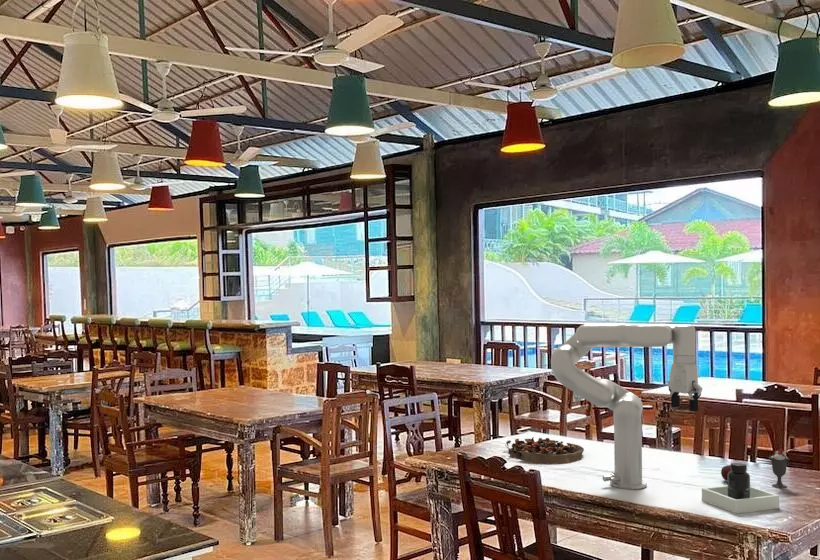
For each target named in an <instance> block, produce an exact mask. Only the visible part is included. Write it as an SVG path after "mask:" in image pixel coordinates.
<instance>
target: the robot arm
mask: <svg viewBox="0 0 820 560" xmlns="http://www.w3.org/2000/svg"><path fill="white" fill-rule="evenodd" d="M670 344H671V345H672V363H671V366H670V372H669V381H667V386H668V391H669V395H670V397H671V401H670V403H671V405H670V406H671V408H679V407H680V406H681V403H680V402H681V401H680V400H681V399H680V397H681V395H680V394H686V395H687V394H688V396H689V400H688V401H689V402H688V403H689V407H688V409H689V410H688V411H689V412H698V411H699V400H700V397H701V396H702V392H703V387H702V386H701V385H700V384H699V379H698V370H697V368H698V367H697V364H696V360H697V359H696V358H697V357H696V355H697V354H696V327H695V326H694V325H692V324H668V323H667V324H666V323H657V324H653V325H651V324H650V325H649V324H648V325H633V324H632V325H631V324H626V323H621V322H620V323H619V322H617V323H593V322H592V323H590V322H587V323H583V324H581V325H579V327H577V329H576V331H575V333H573V334H572V335H571V336H570V337H569V338H568V339H567V340H566V341H565V342H564V343H563V344H561V345H560V346H558V347H557V348H556V349H554V350H553V352H552V355H551V357H550V367H551V371H552V374H553V376H554V378H555V379H556V380H557V382H558V383H560V384H561V385H562V386H563V387H565V388H567V389H568V390H569V391H572V392H573V393H574V394H577V396H579V397H581V398H582V399H584V400H586V401H587V402H589V403H590V404H592V405H594V406H596V407H598V408H607V409H609V410H611V411H613V413H612V414H613V417H612V418H613V438H614V439H613V440H614V443H613V444H614V446H613V447H614V449H613V450H614V452H613V453H614V471H611V473H610V474H609V475H602V481H603V482H609V483H610V485H611V486H613V487H615V488H618V489H625V490H640V489H641V490H642V489H644V488H647V486H648V485H647V481H645V480H643V449H642V448H643V442H642V441H643V439H642V438H643V437H642V436H643V434H642V433H643V432H642V431H643V429H642V428H643V427H642V413H643V410H644V405H643V401H642V400H641V398H640V397H639V396H638V395H636V394H634V393H633V392H631V391H629V390H628V389H626V388H624V387H622V386H621V385H619V384H617V383H616V382H614V381H612V380H610V379H606V378H599V379H598V378H597V377H595V376H592V375H591V374H590V373H588V372H587V371H584V370H583V369H580V368H579V367H577V365H576V364H577V363H578V362H579V361H580V360H581V359H582V358H583V357H584V356H585V355H586V354H587V353H589V352H590V351H591V350H592V349H593V348H631V347H632V348H634V347H636V348H637V347H638V348H648V347H649V348H659V347H666V346H667V345H670Z"/></svg>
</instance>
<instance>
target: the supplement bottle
mask: <svg viewBox="0 0 820 560" xmlns="http://www.w3.org/2000/svg"><path fill="white" fill-rule="evenodd" d="M730 465H731V470H732V471H730V472H729V473H728V481H727V485H728V497H731V498H734V499H736V500H737V499H745V498H750V486H751V476H750V474H749V472H747V471H748V468H747V467H748V466H747V465H748V464H746V463H742V462H731V463H730Z"/></svg>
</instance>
